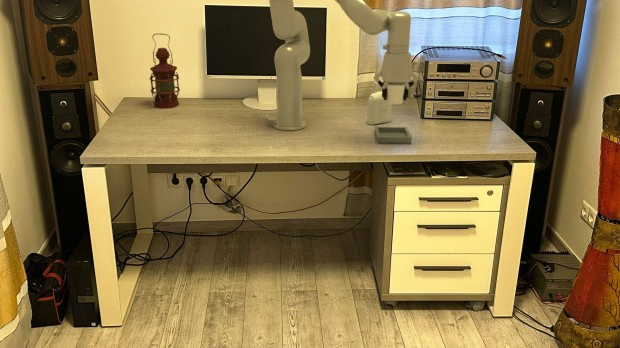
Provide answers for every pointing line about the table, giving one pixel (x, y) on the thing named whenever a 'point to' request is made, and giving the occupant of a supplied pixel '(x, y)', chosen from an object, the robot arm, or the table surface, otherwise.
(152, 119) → the table surface
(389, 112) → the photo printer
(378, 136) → the parts tray
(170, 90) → the lantern
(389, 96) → the white cylinder
